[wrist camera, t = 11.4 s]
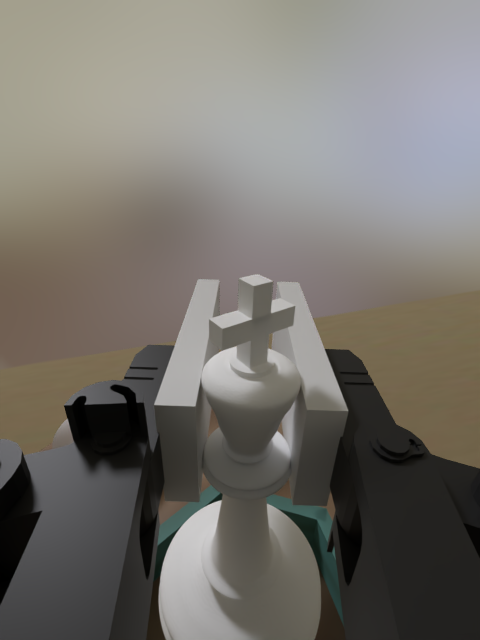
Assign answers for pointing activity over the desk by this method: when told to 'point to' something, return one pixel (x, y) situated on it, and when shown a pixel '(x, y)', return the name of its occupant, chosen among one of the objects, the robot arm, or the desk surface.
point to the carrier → (307, 518)
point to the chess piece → (244, 495)
